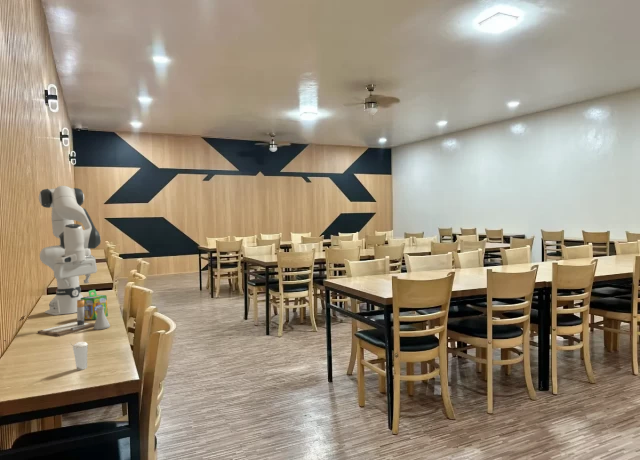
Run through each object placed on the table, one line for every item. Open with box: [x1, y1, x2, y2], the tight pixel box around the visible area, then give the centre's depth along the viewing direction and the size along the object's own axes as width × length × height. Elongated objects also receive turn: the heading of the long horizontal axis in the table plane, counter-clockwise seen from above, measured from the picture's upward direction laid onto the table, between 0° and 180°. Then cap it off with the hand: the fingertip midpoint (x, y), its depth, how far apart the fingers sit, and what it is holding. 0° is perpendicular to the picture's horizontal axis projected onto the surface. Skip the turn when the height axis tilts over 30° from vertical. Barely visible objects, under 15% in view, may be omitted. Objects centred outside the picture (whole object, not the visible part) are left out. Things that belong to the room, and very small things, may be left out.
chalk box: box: [80, 289, 109, 321], centre depth 231 cm, size 9×9×15 cm
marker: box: [76, 300, 85, 325], centre depth 211 cm, size 3×3×12 cm
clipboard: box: [37, 320, 95, 337], centre depth 208 cm, size 17×19×2 cm
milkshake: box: [70, 341, 89, 371], centre depth 150 cm, size 4×5×10 cm
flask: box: [92, 307, 111, 331], centre depth 207 cm, size 7×7×10 cm
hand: (77, 285), depth 214 cm, fingers open, 8 cm apart
